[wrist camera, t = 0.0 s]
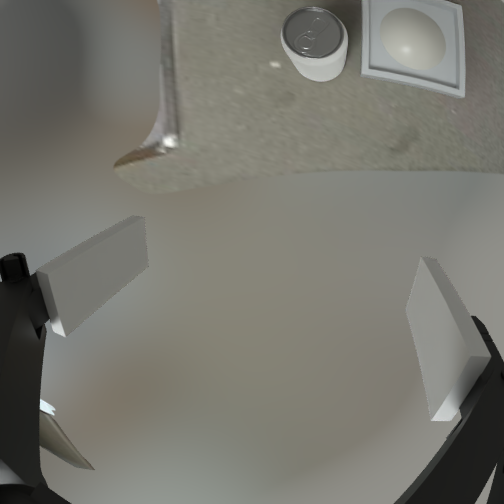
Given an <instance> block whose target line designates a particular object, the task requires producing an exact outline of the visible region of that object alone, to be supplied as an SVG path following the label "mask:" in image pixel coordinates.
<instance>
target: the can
mask: <svg viewBox="0 0 504 504" xmlns="http://www.w3.org/2000/svg"><path fill="white" fill-rule="evenodd" d="M281 42H282V46H283V48H284V50H285V52H286V53H287V55H288V56H289V58H290V59H291V61H292V62H293V64H294V65H295V67H296V68H297V70H298V71H299V72H300V73H301V74H302V75H303V76H305V77H306V78H308V79H311V80H314V81H319V82H323V81H329V80H331V79H334V78H335V77H337V76H338V75H339V74H340V73H341V71H342V70H343V68H344V65H345V60H346V54H347V47H348V35H347V31H346V28H345V26H344V25H343V23H342V22H341V21H340V20H339V19H338V18H337V17H336V16H335V15H334V14H333V13H332V12H330V11H328V10H326V9H324V8H320V7H313V6H310V7H303V8H300V9H297V10H295V11H294V12H292V13H291V14H290V15H289V16H288V17H287V18H286V20H285V21H284V23H283V27H282V29H281Z"/></svg>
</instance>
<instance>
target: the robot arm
mask: <svg viewBox="0 0 504 504" xmlns="http://www.w3.org/2000/svg"><path fill="white" fill-rule="evenodd" d="M147 267H148V255H147V245H146V230H145V217H140V216H131V217H129V218H127V219H125V220H123V221H121V222H119V223H117V224H115V225H113V226H112V227H110V228H108V229H106V230H104V231H102V232H100V233H99V234H97V235H95V236H93V237H91V238H90V239H88V240H86V241H84V242H82V243H81V244H79V245H77V246H75V247H74V248H72V249H70V250H68V251H67V252H65V253H63V254H61V255H60V256H58V257H56V258H55V259H53V260H51V261H50V262H48V263H46V264H45V265H43V266H41V267H40V268H38V269H37V270H36V272H35V273H34V274H32V275H31V276H30V274H29V270H28V266H27V262H26V257H25V255H24V254H23V253H12V254H9V255H6V256H4V257H2V258H1V259H0V275H1V278H2V282H0V504H71V503H70V502H68V501H67V500H65V499H63V498H62V497H61V496H59V495H58V494H56V493H55V492H54V491H52V490H50V489H49V488H48V485H47V483H46V481H45V479H44V477H43V475H42V472H41V468H40V450H39V449H40V448H39V411H40V389H41V376H42V365H43V356H44V347H45V339H46V333H47V331H46V327H45V324H44V323H46V322H47V321H48V320H49V319H50V322H51V325H52V328H53V331H54V332H56V333H58V334H60V335H62V336H64V337H67V336H68V335H69V334H70V333H71V332H72V331H74V330H75V329H76V328H77V327H78V326H79V325H80V324H82V323H83V322H84V321H85V320H86V319H87V318H88V317H89V316H91V315H92V314H93V313H94V312H95V311H96V310H98V308H100V307H101V306H102V305H103V304H105V303H106V302H107V301H108V300H109V299H110V298H111V297H113V296H114V295H115V294H116V293H117V292H119V291H120V290H121V289H122V288H123V287H125V286H126V285H127V284H128V283H129V282H131V281H132V280H133V279H134V278H135V277H136V276H138V275H139V274H140V273H141V272H143V271H144V270H145V269H146V268H147ZM405 311H406V314H407V317H408V321H409V324H410V328H411V332H412V335H413V339H414V343H415V347H416V351H417V355H418V359H419V363H420V367H421V372H422V377H423V381H424V386H425V391H426V396H427V401H428V406H429V412H430V418H431V421H451V419H452V418H453V417H454V415H455V414H456V413H457V411H458V410H459V409H460V413H461V416H462V418H461V420H460V421H459V422H458V424H457V425H456V426H455V427H454V429H453V430H452V431H451V433H450V434H449V435H448V437H447V440H446V441H445V442H444V444H443V445H442V447H441V448H440V449H439V451H438V452H437V454H436V455H435V456H434V457H433V459H432V460H431V461H430V462H429V464H428V465H427V467H426V468H425V469H424V470H423V471H422V472H421V474H420V475H419V476H418V477H417V478H416V480H415V481H414V482H413V483H412V485H410V487H409V488H408V489H407V490H406V491H405V492H404V493H403V494H402V495H401V497H400V498H399V499H398V500H397V501H396V502H395V503H394V504H475V502H476V501H477V498H478V497H479V496H480V494H481V492H482V490H483V488H484V487H485V485H486V483H487V481H488V479H489V477H490V476H491V474H492V472H493V470H494V468H495V466H496V464H497V466H496V471H495V475H494V479H493V483H492V486H491V490H490V494H489V497H488V501H487V504H504V362H503V359H502V358H501V356H500V353H499V351H498V350H497V348H496V346H495V344H494V342H492V341H493V340H492V338H491V336H490V335H489V333H488V331H487V329H486V327H485V325H484V324H483V323H482V322H481V321H480V320H479V319H478V318H477V317H476V316H470V314H469V312H468V311H467V309H466V307H465V305H464V304H463V302H462V300H461V298H460V297H459V295H458V293H457V291H456V290H455V288H454V287H453V285H452V283H451V282H450V280H449V278H448V277H447V275H446V274H445V272H444V270H443V269H442V267H441V266H440V264H439V263H438V261H437V259H433V258H428V257H422V256H421V259H420V263H419V266H418V270H417V274H416V277H415V280H414V284H413V287H412V290H411V293H410V297H409V300H408V303H407V306H406V309H405Z"/></svg>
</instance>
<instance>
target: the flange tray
mask: <svg viewBox="0 0 504 504" xmlns="http://www.w3.org/2000/svg"><path fill="white" fill-rule="evenodd" d="M360 77H366V78H372V79H378V80H383V81H389V82H394V83H399V84H404V85H408V86H413V87H417V88H421V89H425V90H429V91H433V92H437V93H441V94H445V95H448V96H452V97H455V98H458V99H460V98H465V40H464V25H463V14H462V6H460V5H458V4H455V3H452V2H449V1H445V0H361V69H360Z"/></svg>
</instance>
